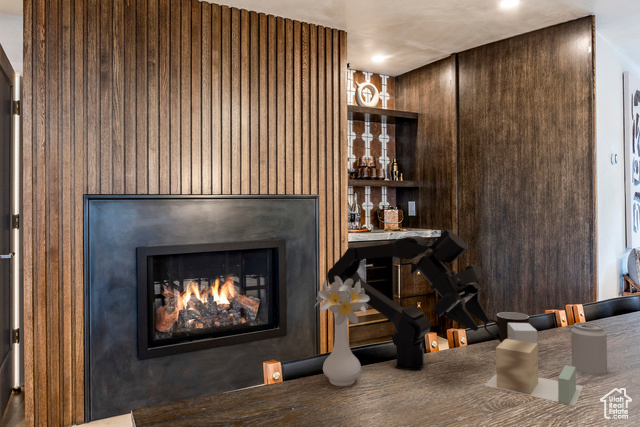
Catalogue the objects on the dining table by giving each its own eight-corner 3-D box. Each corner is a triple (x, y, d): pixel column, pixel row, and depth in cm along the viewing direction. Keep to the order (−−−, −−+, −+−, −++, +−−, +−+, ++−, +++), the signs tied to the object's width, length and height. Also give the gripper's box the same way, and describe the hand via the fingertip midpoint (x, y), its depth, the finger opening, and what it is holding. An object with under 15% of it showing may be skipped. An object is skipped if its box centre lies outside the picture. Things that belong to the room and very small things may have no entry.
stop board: (558, 401, 91) (558, 377, 91) (565, 387, 98) (565, 365, 98) (569, 404, 90) (569, 380, 90) (576, 389, 97) (575, 366, 97)
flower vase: (329, 402, 96) (327, 287, 95) (309, 372, 113) (307, 275, 113) (385, 394, 99) (382, 283, 99) (356, 366, 117) (354, 272, 117)
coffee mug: (531, 348, 129) (531, 314, 129) (527, 356, 122) (526, 320, 122) (489, 342, 135) (489, 309, 135) (483, 350, 128) (483, 316, 128)
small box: (538, 372, 110) (538, 330, 110) (514, 371, 111) (514, 330, 111) (530, 361, 118) (529, 322, 117) (508, 360, 119) (507, 322, 119)
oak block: (496, 387, 99) (495, 347, 99) (506, 376, 105) (505, 338, 105) (530, 394, 95) (529, 353, 95) (538, 382, 101) (537, 343, 101)
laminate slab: (484, 389, 100) (484, 385, 100) (499, 373, 110) (499, 369, 110) (575, 410, 89) (575, 405, 89) (583, 390, 99) (583, 386, 99)
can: (602, 369, 111) (601, 321, 111) (611, 380, 104) (610, 329, 104) (569, 366, 114) (568, 320, 114) (575, 377, 107) (574, 327, 106)
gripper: (446, 258, 100) (496, 313, 94) (473, 251, 115) (518, 298, 108) (414, 289, 105) (460, 343, 99) (444, 278, 120) (485, 325, 113)
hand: (482, 326), depth 105 cm, fingers open, 8 cm apart
